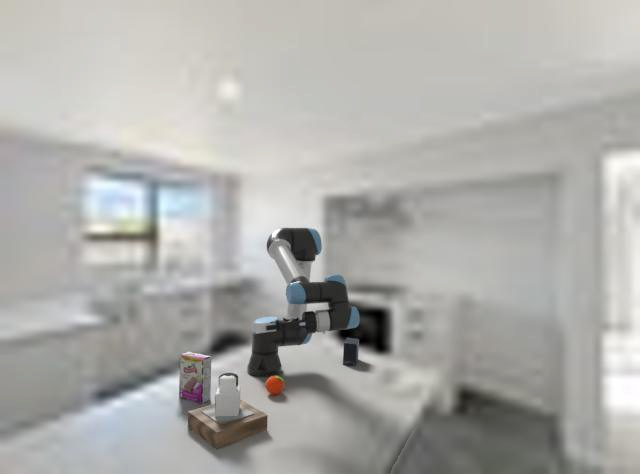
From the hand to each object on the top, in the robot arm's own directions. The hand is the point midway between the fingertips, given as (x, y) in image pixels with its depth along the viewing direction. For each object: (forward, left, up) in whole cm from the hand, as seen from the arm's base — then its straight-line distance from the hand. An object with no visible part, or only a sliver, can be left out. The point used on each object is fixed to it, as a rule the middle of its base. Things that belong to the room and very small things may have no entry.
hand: (253, 328), depth 145 cm
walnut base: (+1, -10, -30) cm, 32 cm away
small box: (-21, +71, -31) cm, 80 cm away
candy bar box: (-27, -7, -31) cm, 41 cm away
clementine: (-12, +19, -31) cm, 38 cm away
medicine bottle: (+1, -10, -25) cm, 27 cm away
